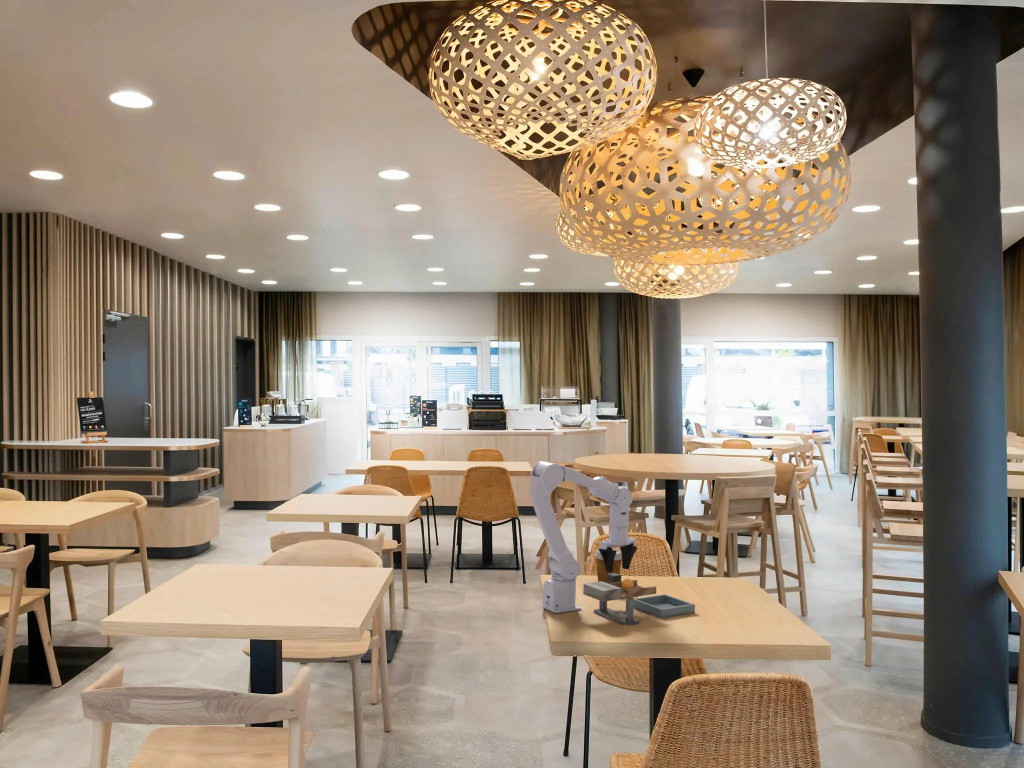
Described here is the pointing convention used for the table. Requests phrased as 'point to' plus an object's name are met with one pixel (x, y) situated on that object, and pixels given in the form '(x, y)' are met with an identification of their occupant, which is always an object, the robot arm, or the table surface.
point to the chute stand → (617, 616)
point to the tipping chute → (615, 589)
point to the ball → (627, 584)
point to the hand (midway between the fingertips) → (617, 570)
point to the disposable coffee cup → (601, 566)
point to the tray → (664, 606)
